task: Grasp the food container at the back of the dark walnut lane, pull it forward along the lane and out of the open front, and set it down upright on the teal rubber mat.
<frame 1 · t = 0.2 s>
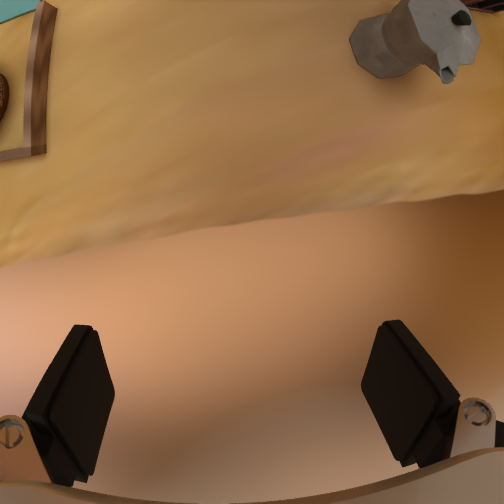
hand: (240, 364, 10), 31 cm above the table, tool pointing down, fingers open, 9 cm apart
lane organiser: (0, 86, 29), on the table
coffeepot: (379, 41, 33), on the table
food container: (0, 92, 29), resting in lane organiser
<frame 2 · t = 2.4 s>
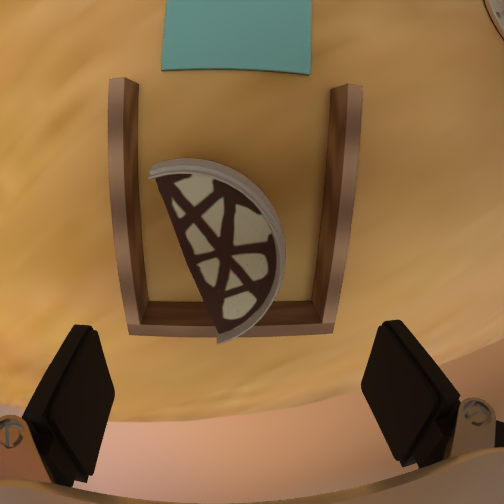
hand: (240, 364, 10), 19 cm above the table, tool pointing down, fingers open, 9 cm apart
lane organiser: (231, 198, 27), on the table
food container: (231, 209, 27), resting in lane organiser
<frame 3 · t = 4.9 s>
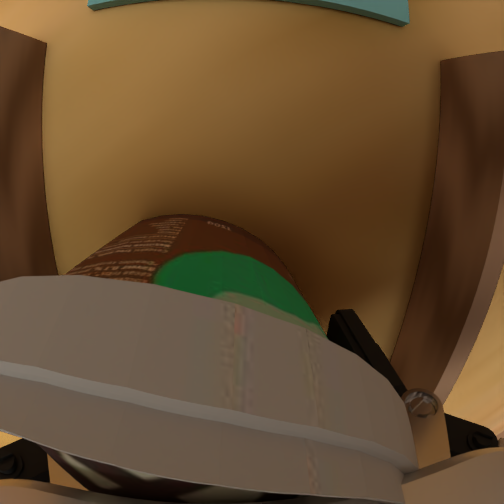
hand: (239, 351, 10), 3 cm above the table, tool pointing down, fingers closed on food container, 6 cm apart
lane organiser: (242, 282, 13), on the table
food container: (252, 303, 13), resting in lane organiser, touching gripper
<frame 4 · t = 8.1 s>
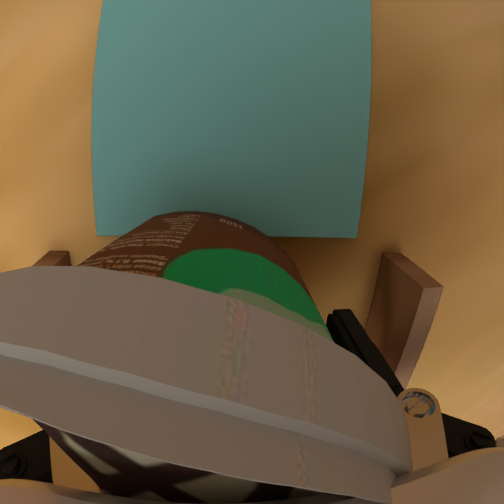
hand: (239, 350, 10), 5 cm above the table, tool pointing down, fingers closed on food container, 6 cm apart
mat: (234, 53, 12), on the table
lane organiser: (226, 401, 18), on the table
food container: (261, 301, 13), point 2 cm above the table, touching gripper
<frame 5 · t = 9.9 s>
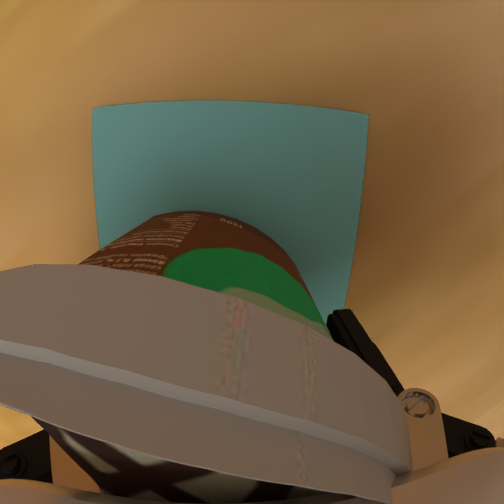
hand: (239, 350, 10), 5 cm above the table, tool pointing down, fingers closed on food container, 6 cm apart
mat: (227, 275, 15), on the table
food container: (261, 301, 13), point 2 cm above the table, touching gripper
when the fingers open (4 cm above the table, at t = 11.3 s): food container stays where it is, resting on mat.
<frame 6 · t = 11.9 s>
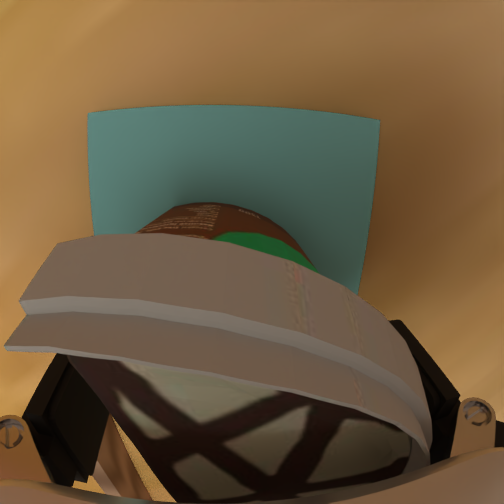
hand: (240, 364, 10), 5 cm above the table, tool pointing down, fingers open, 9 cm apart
mat: (231, 288, 15), on the table
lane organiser: (232, 481, 22), on the table
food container: (272, 289, 14), point 1 cm above the table, touching mat
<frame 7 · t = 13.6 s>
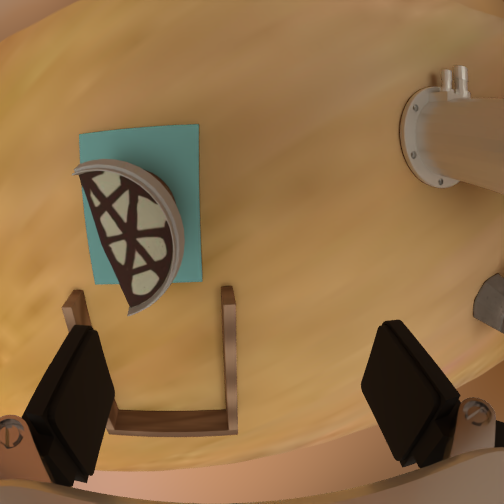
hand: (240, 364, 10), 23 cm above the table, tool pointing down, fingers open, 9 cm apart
mat: (140, 207, 30), on the table
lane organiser: (160, 360, 37), on the table
coffeepot: (490, 291, 43), on the table
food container: (157, 205, 30), resting on mat
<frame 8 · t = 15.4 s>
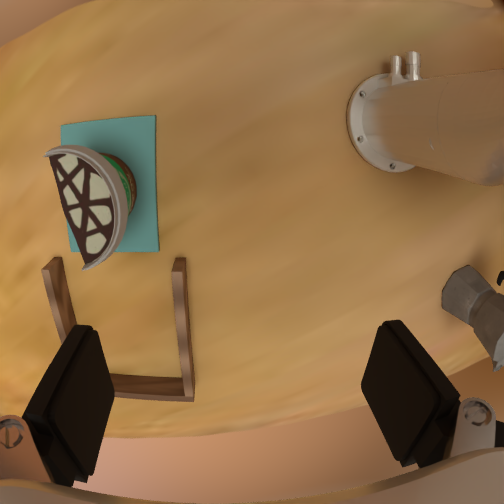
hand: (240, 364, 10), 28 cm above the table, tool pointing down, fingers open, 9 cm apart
mat: (108, 186, 34), on the table
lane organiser: (125, 324, 41), on the table
coffeepot: (461, 283, 45), on the table
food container: (121, 184, 34), resting on mat
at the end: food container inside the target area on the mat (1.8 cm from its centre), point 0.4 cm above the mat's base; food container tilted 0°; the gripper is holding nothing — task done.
